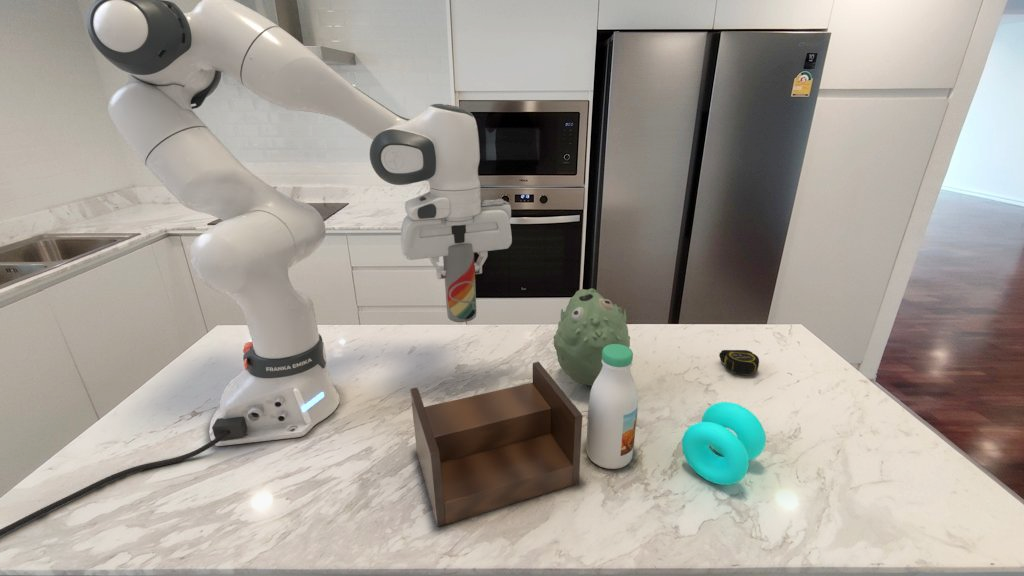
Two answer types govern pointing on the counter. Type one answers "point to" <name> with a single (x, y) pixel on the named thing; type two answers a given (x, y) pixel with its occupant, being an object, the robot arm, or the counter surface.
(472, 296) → the lotion bottle
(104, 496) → the counter surface
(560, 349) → the green monster figurine
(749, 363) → the tape measure
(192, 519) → the counter surface
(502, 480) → the step rack
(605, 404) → the milk bottle
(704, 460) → the turquoise yo-yo
